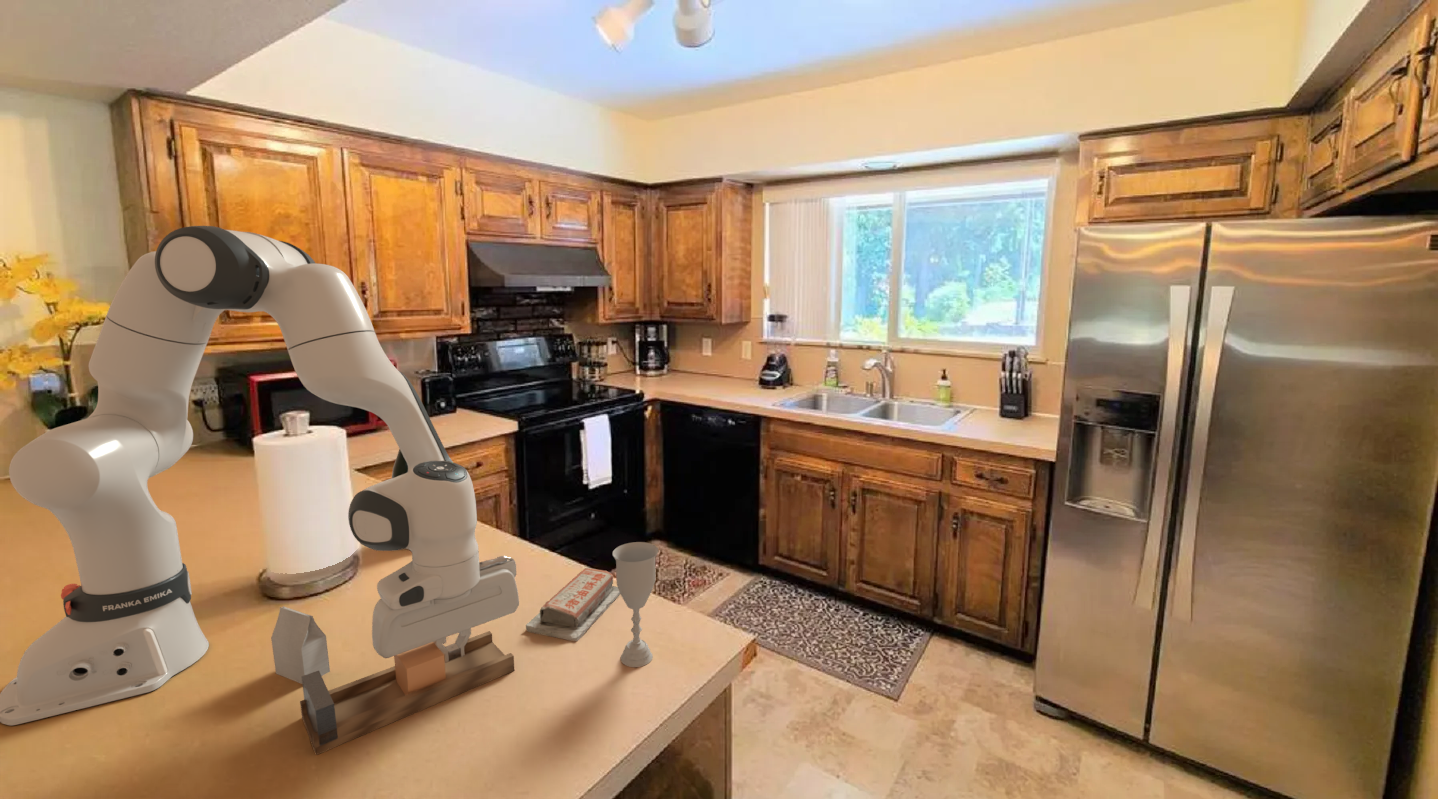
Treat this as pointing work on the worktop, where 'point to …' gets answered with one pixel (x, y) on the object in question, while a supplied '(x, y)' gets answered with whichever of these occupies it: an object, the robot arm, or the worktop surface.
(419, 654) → the orange block
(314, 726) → the end stop
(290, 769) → the worktop surface
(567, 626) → the packaged product
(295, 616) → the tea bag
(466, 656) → the track
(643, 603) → the chalice
